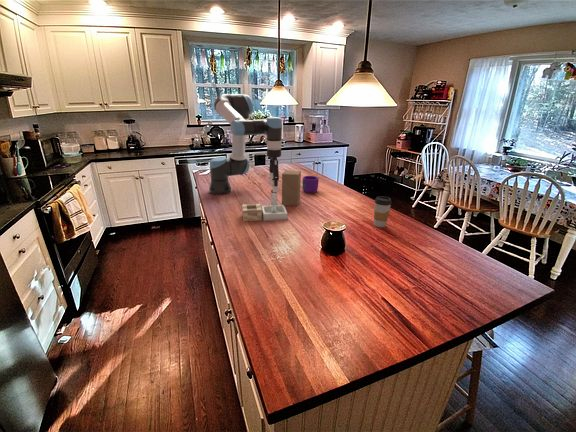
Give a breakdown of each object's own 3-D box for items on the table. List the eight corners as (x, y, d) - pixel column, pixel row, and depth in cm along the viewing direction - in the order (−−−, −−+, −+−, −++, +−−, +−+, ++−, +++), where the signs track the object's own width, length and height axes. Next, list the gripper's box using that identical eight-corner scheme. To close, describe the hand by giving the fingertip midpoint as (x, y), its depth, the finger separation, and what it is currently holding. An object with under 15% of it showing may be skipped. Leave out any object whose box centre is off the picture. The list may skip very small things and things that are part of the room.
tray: (261, 212, 169) (261, 205, 168) (283, 211, 172) (283, 204, 170) (263, 221, 158) (263, 214, 156) (287, 219, 160) (287, 213, 158)
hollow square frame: (242, 214, 166) (242, 204, 164) (260, 213, 168) (259, 203, 166) (243, 221, 157) (242, 210, 155) (261, 220, 159) (261, 209, 156)
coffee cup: (376, 220, 161) (380, 194, 155) (390, 225, 155) (395, 198, 150) (368, 224, 155) (372, 198, 150) (382, 229, 150) (387, 202, 144)
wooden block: (297, 206, 180) (298, 174, 172) (281, 205, 181) (281, 173, 174) (299, 201, 189) (301, 170, 181) (284, 199, 190) (285, 169, 183)
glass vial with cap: (270, 213, 166) (270, 189, 160) (276, 212, 166) (276, 189, 161) (271, 215, 162) (271, 191, 157) (277, 215, 163) (277, 191, 158)
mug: (320, 192, 206) (321, 179, 202) (305, 194, 203) (305, 180, 199) (311, 186, 221) (312, 173, 217) (297, 187, 218) (297, 174, 214)
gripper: (264, 144, 161) (264, 181, 169) (269, 153, 138) (269, 195, 147) (277, 144, 162) (277, 181, 170) (285, 153, 140) (284, 195, 148)
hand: (273, 187), depth 159 cm, fingers open, 13 cm apart
